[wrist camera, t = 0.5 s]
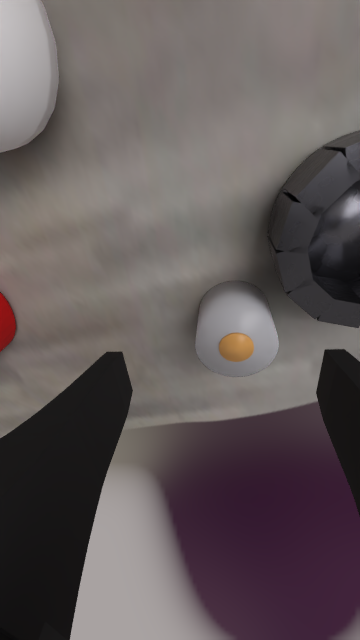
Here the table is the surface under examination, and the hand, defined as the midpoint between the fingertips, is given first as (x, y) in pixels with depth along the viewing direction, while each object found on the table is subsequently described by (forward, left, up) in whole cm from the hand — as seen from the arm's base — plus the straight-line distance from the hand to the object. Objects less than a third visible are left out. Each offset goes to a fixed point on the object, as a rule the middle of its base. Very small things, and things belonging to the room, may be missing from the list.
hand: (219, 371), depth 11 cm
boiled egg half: (-2, +3, -10) cm, 10 cm away
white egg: (+13, -8, -10) cm, 18 cm away
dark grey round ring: (-7, -4, -10) cm, 12 cm away
